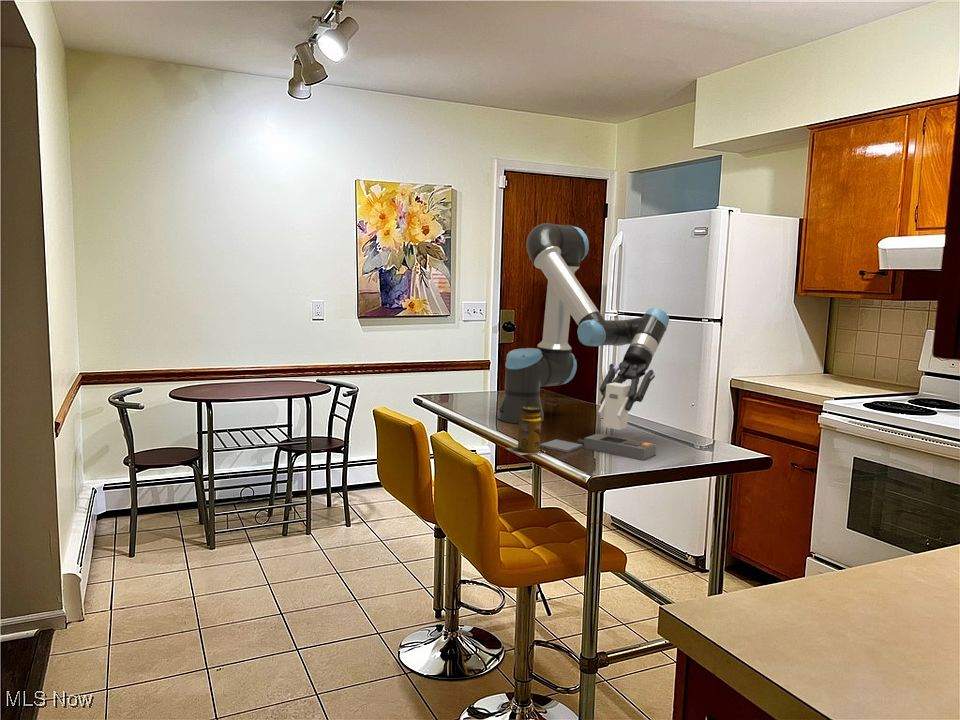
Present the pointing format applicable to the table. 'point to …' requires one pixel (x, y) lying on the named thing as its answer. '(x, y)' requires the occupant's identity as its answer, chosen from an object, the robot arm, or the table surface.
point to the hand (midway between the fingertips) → (610, 416)
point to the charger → (615, 405)
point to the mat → (561, 445)
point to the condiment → (528, 431)
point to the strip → (619, 446)
